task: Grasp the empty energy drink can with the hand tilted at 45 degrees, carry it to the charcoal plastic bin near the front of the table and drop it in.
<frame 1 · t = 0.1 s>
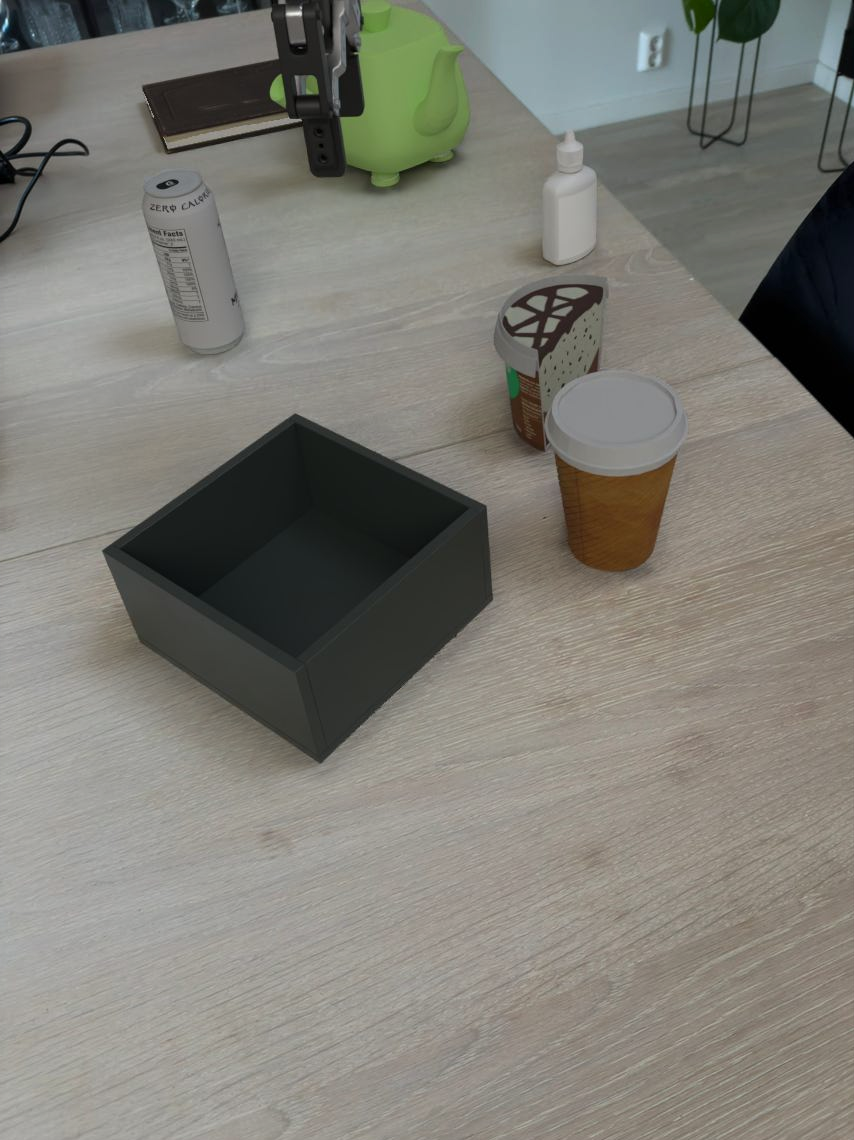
hand: (339, 143, 73), 25 cm above the table, tool pointing down, fingers open, 8 cm apart
hardcover book: (249, 110, 138), on the table
food container: (539, 411, 94), on the table
eye dropper bottle: (569, 255, 111), on the table
energy drink can: (215, 341, 104), on the table
bin: (317, 621, 79), on the table
teapot: (380, 171, 125), on the table
disposable coffee cup: (611, 544, 83), on the table
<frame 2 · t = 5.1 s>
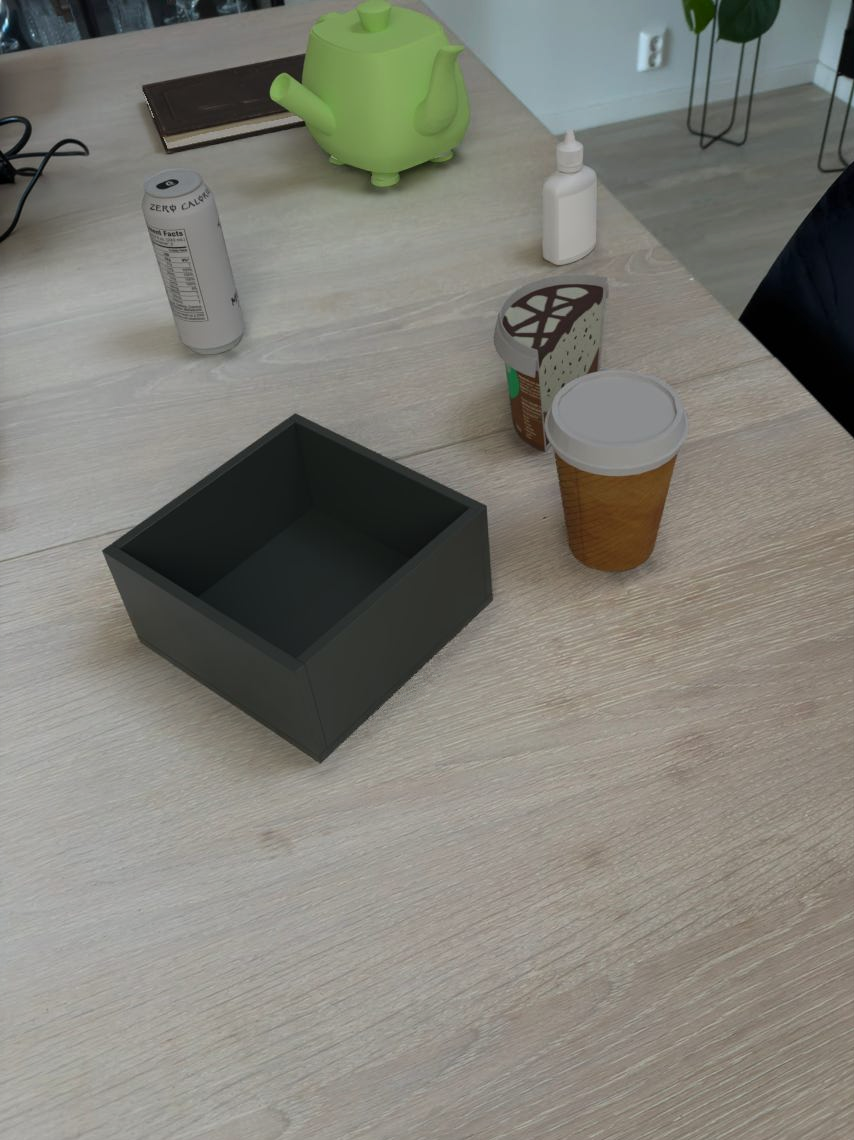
hand: (120, 8, 93), 25 cm above the table, tool tilted 45°, fingers open, 8 cm apart
nothing on the table moved.
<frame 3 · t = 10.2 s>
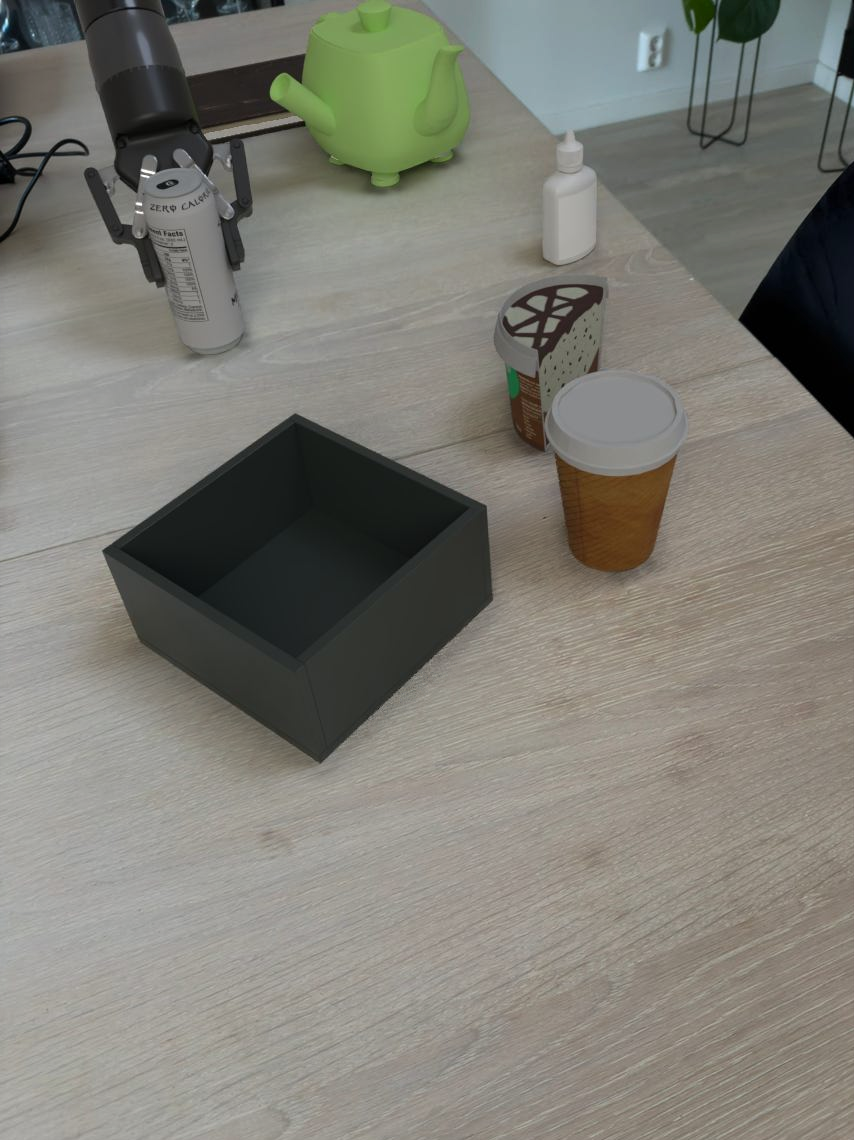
hand: (198, 275, 98), 7 cm above the table, tool tilted 45°, fingers closed on energy drink can, 6 cm apart
energy drink can: (215, 341, 104), on the table, touching gripper
everything else where it was.
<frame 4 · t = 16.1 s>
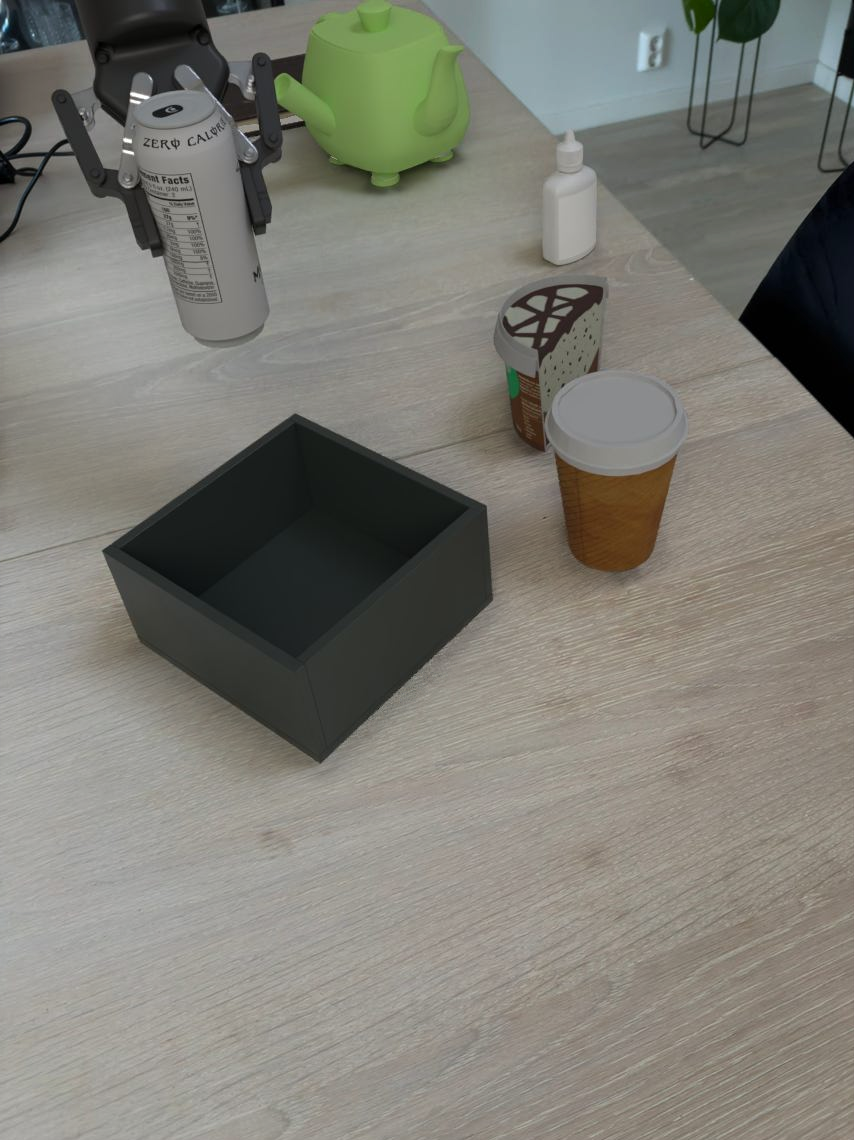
hand: (209, 241, 72), 22 cm above the table, tool tilted 45°, fingers closed on energy drink can, 6 cm apart
energy drink can: (229, 330, 78), point 15 cm above the table, touching gripper
everything else where it was.
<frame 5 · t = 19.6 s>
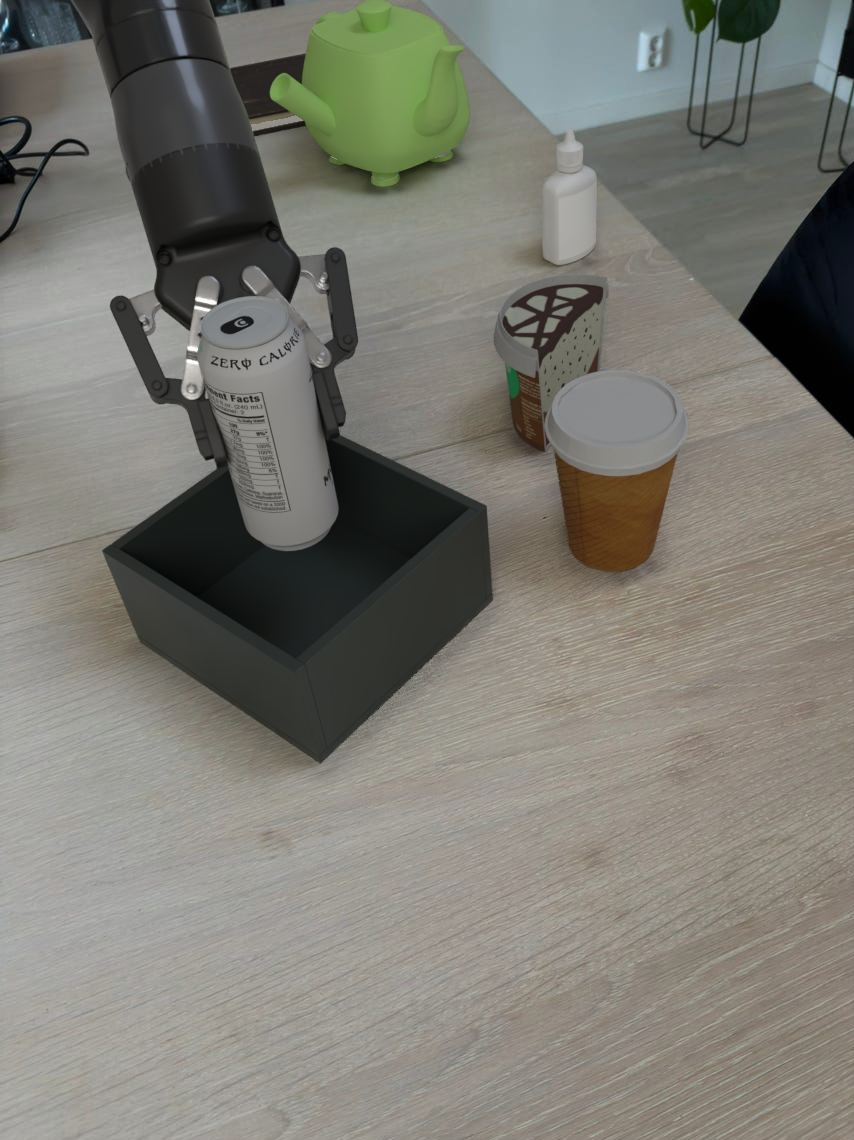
hand: (278, 450, 66), 16 cm above the table, tool tilted 45°, fingers closed on energy drink can, 6 cm apart
energy drink can: (294, 527, 73), point 9 cm above the table, touching gripper
everything else where it was.
when the fingers open (8 cm above the table, at t = 22.4 s): energy drink can stays where it is, resting on bin.
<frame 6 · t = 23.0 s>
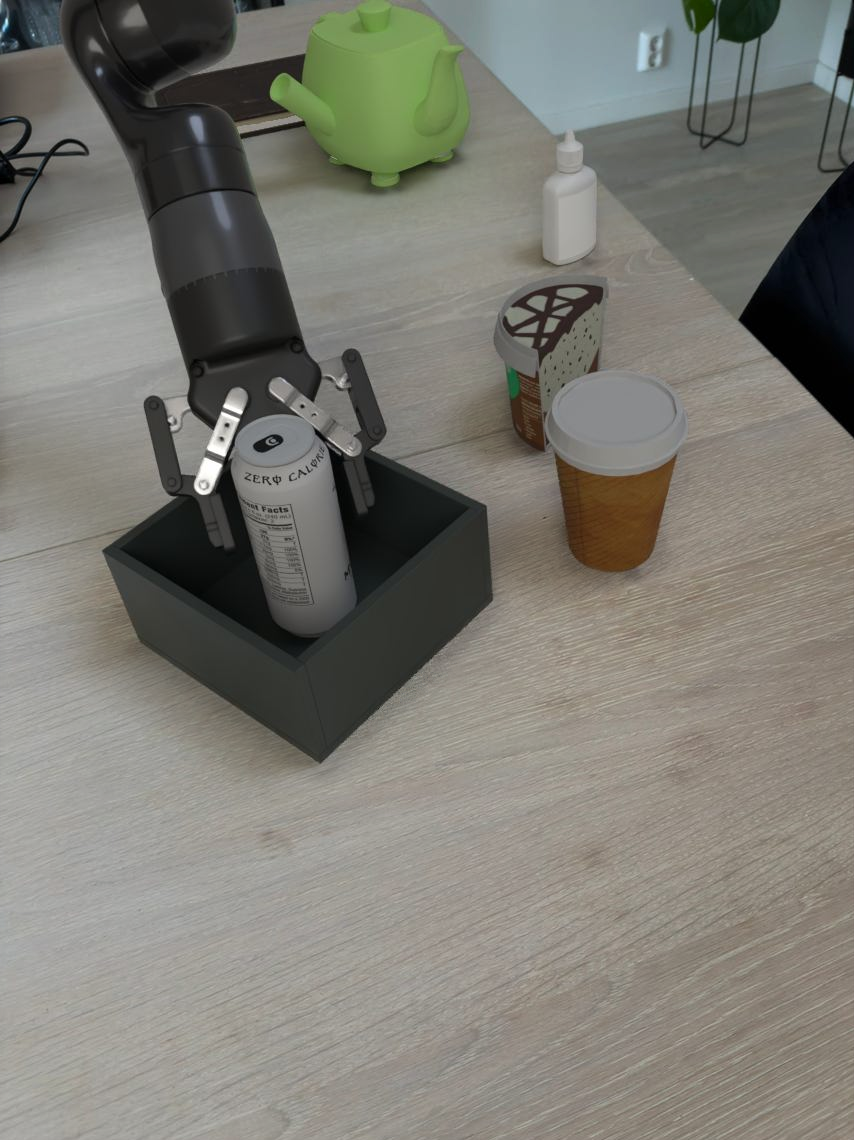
hand: (298, 536, 72), 9 cm above the table, tool tilted 45°, fingers open, 8 cm apart
energy drink can: (316, 613, 79), point 1 cm above the table, touching bin
everything else where it was.
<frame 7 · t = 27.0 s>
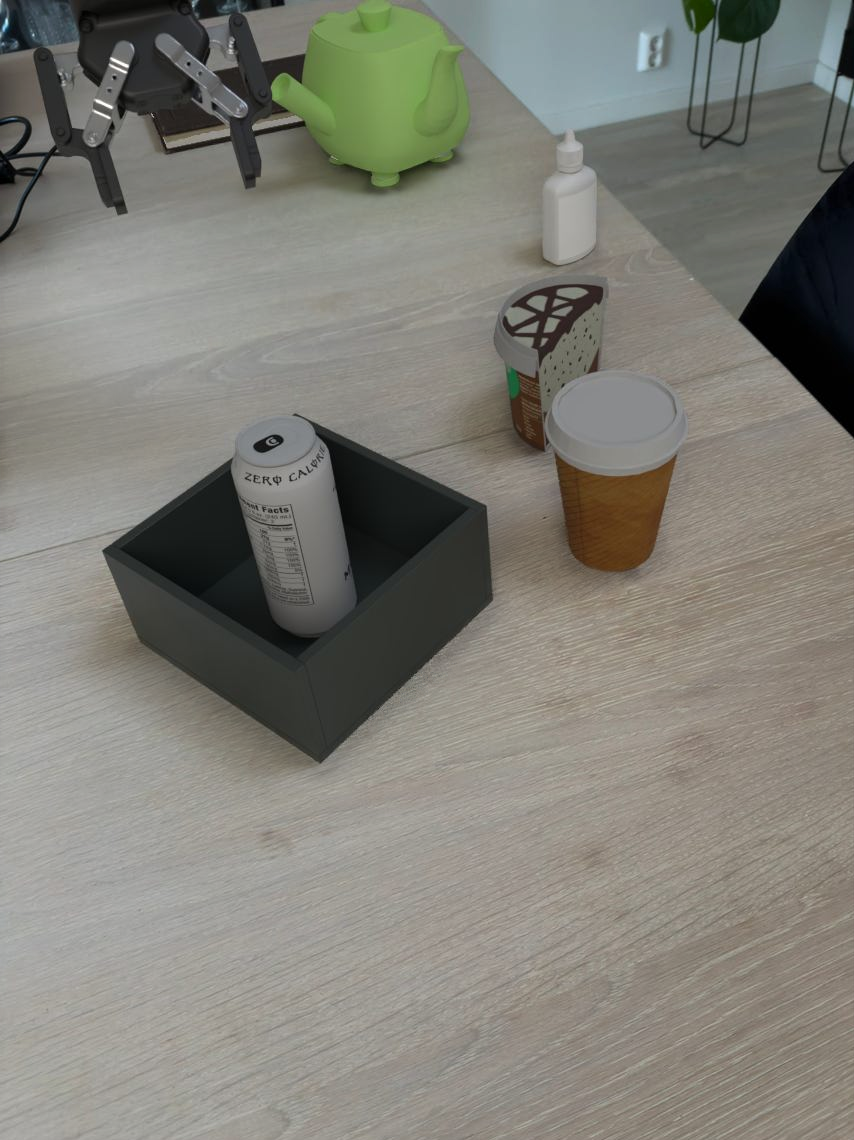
hand: (187, 197, 74), 23 cm above the table, tool tilted 45°, fingers open, 8 cm apart
nothing on the table moved.
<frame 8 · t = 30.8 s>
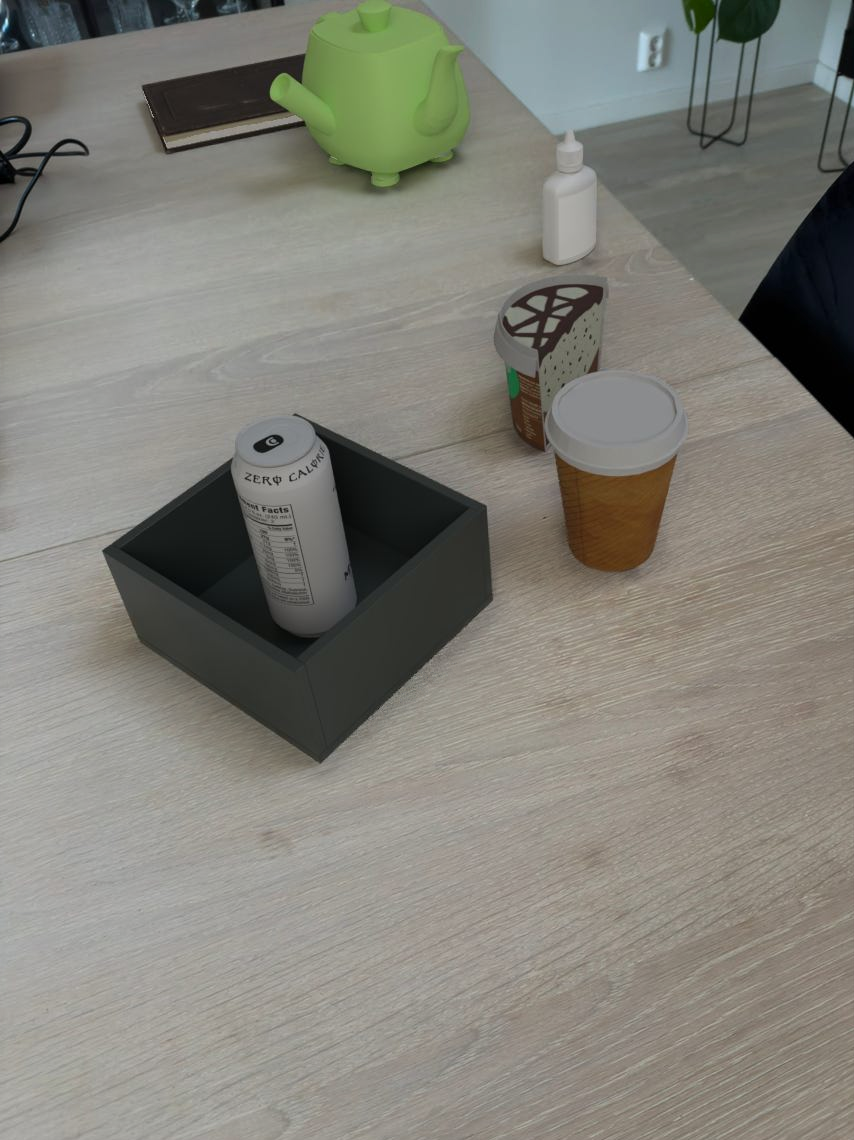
nothing on the table moved.
at the end: energy drink can inside the target area in the bin (0.1 cm from its centre), point 0.6 cm above the bin's base; the gripper is holding nothing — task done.
